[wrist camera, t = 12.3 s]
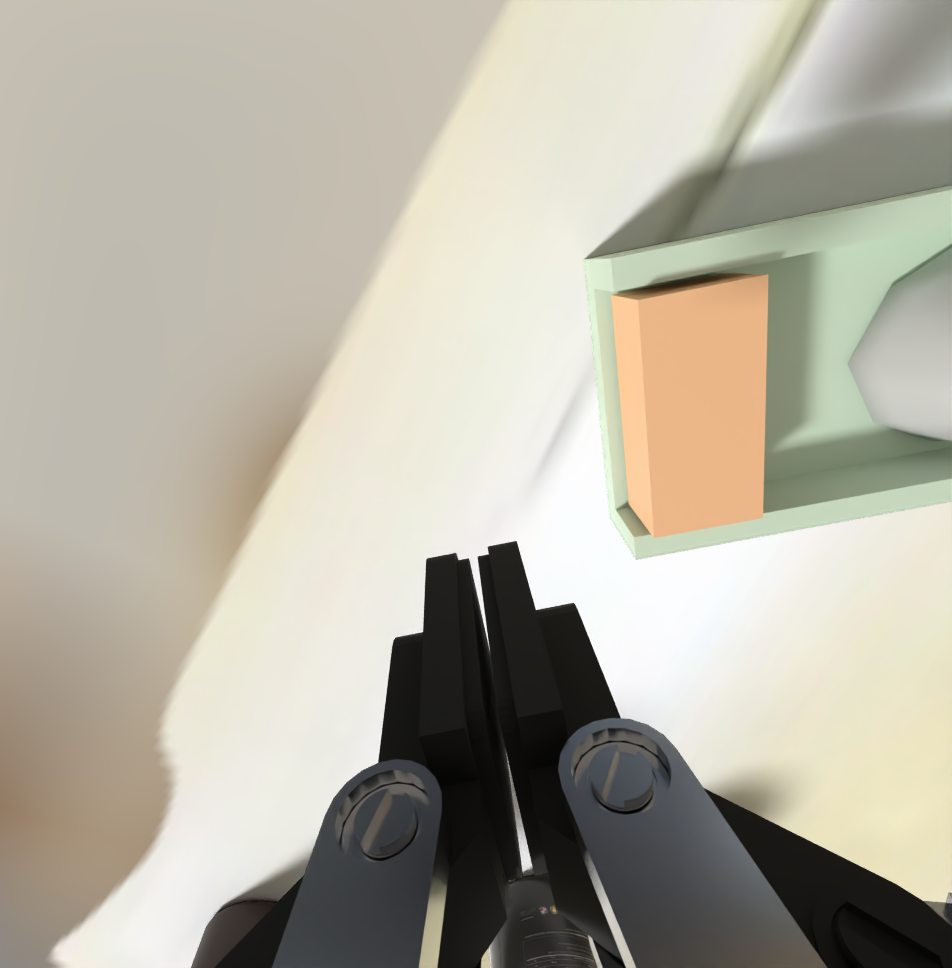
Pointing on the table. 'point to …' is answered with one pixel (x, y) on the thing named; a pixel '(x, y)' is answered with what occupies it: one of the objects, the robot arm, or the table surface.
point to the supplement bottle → (538, 931)
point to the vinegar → (228, 931)
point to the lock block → (693, 400)
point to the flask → (911, 355)
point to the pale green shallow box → (794, 363)
